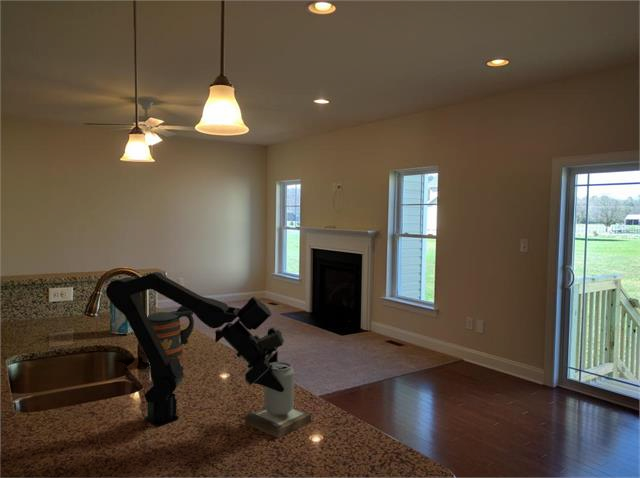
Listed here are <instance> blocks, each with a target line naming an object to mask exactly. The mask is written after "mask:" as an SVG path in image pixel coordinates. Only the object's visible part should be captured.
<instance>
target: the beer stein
mask: <svg viewBox="0 0 640 478" xmlns="http://www.w3.org/2000/svg"><path fill="white" fill-rule="evenodd" d="M193 315H194V313H193V312H192V311H191V310H189V309H187V308H185V307H184V306H182V305H180V306H179V307H178V308H177V310H173V311H170V312H167V311H163V312H161V311H160V312H159V311H158V312H154V313H152V314H148V315H147V316H148V319H149V321H150V323H151V325H152V327H153V329H154V331H155V332H156V334H157V336H158V338H159V340H160V342H161V344H162V346H163V348H164V350H165V352H166V354H167V355H168V356H169V357H171V358H172V359H173V358H175V357H178V359H179V361H180V360H182V358H183V356H184V353H183V345H185V346H186V345H187V344H188V343H189V340H188V339H189V338H190V336H191V333H193V330H194V326H195V320H194V317H193ZM183 317H185V318H187V319H188V321H189V323H188V326H187V327H186V328H185V329H181V324H180V323H181V322H180V318H183Z"/></svg>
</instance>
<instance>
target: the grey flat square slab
mask: <svg viewBox="0 0 640 478" xmlns="http://www.w3.org/2000/svg"><path fill="white" fill-rule="evenodd" d="M244 422H245V423H244V424H246V425H248V426H250V427H252V428H255V429H257V430H259V431H261V432H263V433H266V434H267V435H270V436H272V437H275V438H277V439H279V438H281V437H283V436H286V435H288V434H290V433H291V432H294V431H296V430H298V429H300V428H301V427H304V426H306V425H307V424H310V423H311V422H312V413H309V412H306V411H303V410H300V409H299V408H298V409H297V408H295V407H293V409H292V410H291V411H290V412H289V413H287V414H283V415H274V414H271V413H269V412H268V411H267V410H266V409H265V407H264V408H261V409H258V410H256V411H253V412H249V413H246V415H245V419H244Z"/></svg>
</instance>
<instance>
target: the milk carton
mask: <svg viewBox="0 0 640 478" xmlns="http://www.w3.org/2000/svg"><path fill="white" fill-rule="evenodd" d="M124 277H130V278H133V277H134V276H132V277H131V276H130V275H129V276H128V275H123V276H121V277H119V278H118V279H121V278H124ZM118 279H116V280H118ZM133 279H134V278H133ZM109 309H110V310H109V312H110V313H109V318H110V319H109V323H110V324H109V329H110V331H109V332H119V333H130V332H132V331H133V330H132V328H131V326H130V324H129V322H128V320H127V318H126V317H125V315H124V314H123V313H122V312H120V311H119V310H118V309H117V308H115V306H114V305H113V304H112V303H111V301H110V300H109Z"/></svg>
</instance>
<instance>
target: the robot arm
mask: <svg viewBox="0 0 640 478" xmlns="http://www.w3.org/2000/svg"><path fill="white" fill-rule="evenodd" d="M138 277H139V278H135V279H133V278H130V277H124V278H121V277H120V278H121V279H119V278H118V280H117V279H115V280H112V281H110V282H109V284H108V285H107V287H106V290H105V295H106V296H107V297H106V298H107V299H108V300H109V302H110V301H111V303H112V304H113V305H114V306H115V308H117V309H118V310H119V311H120V312H122V313H123V314H124V315H125V317H126V318H127V320H128V322H129V324H130V326H131V328H132V330H133V332H134V333H133V334H134V336H135V338H136V340H137V342H138V343H139V346H140V349H141V350H143V352H144V354H145V355H146V357H147V359H148V361H149V363H150V365H149V368H150V372H149V373H150V378H151V381H152V382H151V383H152V386H151V387H150V388H149V389H148V390H147V391H146V392H145V393H144V398H145V401H146V403H147V406H146V408H147V409H146V410H147V413H146V414H147V415H146V416H145V417H143V419H144V421H146V422H148V423H149V424H151V425H153V426H155V427H160V426H162V425H163V426H164V425H165V424H168V423H170V422H173V421H176V420H179V416H178V415H177V411H178V409H177V406H178V405H177V403H178V402H177V398H176V393H174V392H175V391H176V389H177V388H178V387H179V386H180V385H181V383H182V382H183V380H184V377H185V376H184V375H185V374H184V370H185V368H184V367H183V366H182V364H181V362H180V360H179V359H178V357H175V358H173V359H172V358H171V357H169V356H168V355H167V354H166V352H165V350H164V348H163V346H162V344H161V342H160V340H159V338H158V336H157V334H156V332H155V331H154V329H153V327H152V325H151V323H150V321H149V319H148V317H147V316H148V315H147V313H146V311H145V309H144V307H143V299H142V292H145V291H148V290H153V291H155V292H156V293H159V294H160V295H162V296H164V297H166V298H167V299H168V300H171V301H173V302H175V303H177V304H179V305H180V306H184V307H185V308H187V309H189V310H191V311H192V312H193V315H195V316H196V317H197V319H199V320H200V321H201V322H203V323H204V324H205V325H206V326H207V327H209V328H210V329H216V330H215V332H214V333H215V336H214V338H215V339H214V342H216V343H218V342H219V341H220V340H221V339H222V338H223V339H224V340H225V341H226V342H227V343H228V344H229V346H231V347H232V348H233V349H234V351H235V352H236V354H235V355H236V356H237V358H240V357H241V358H242V359H243V360H244V361H245V362H246V363H247V365H246V367H247V368H248V369H247V371H246V373H245V374H244V376H245V381H246V382H247V383H248V384H249V386H251V385H259V386H263V387H264V388H265V387H268V388H271V389H274V390H276V391H279V392H283V391H284V388H283V386H282V385H281V383H280V382H279V380H278V379H277V378H276V376H275V375H274V373H273V364H271V365H270V363H273V362H279V360H278V359H279V350H278V348H279V347H282V346H283V345H284V342H285V340H284V338H283V334H282V332H281V331H280V330H279V329H276V328H275V327H271V328H268V330H267V334H265V335H264V336H262V337H260V336H259V335H256V334H255V335H253V334H252V333H251V332H250V330H251V331H252V330H255V331H256V330H257V329H258V328H259V327H261V326H262V325H263V323H265V322H266V321H267V320H268V319H269V318H270V317H271V316H273V315H272V312H271V310H270V308H268V306H267V305H266V304H265V303H263V302H262V301H261V300H259V299H257V298H256V296H252V297H250V298H249V300H248V301H247V302H246V303H245V304H244V305H243V306H242V307H241V308H240V307H233V306H229V305H228V304H227V303H225V302H223V301H220V300H218V299H214V298H210V297H209V298H208V297H205V296H202V295H200V294H198V293H196V292H194V291H192V290H191V289H188V287H185V286H183V285H182V284H180V283H177V282H175V281H174V280H172V279H170V278H168V277H167V276H164V275H163V274H162V273H161V272H159V271H153V272H152V273H148V274H147V275H143V276H138ZM236 319H237V320H236ZM235 320H236V321H235ZM234 321H235V322H234ZM233 322H234V323H233ZM225 324H226V325H225ZM222 326H223V327H222ZM221 327H222V328H221ZM219 328H221V329H219Z"/></svg>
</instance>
